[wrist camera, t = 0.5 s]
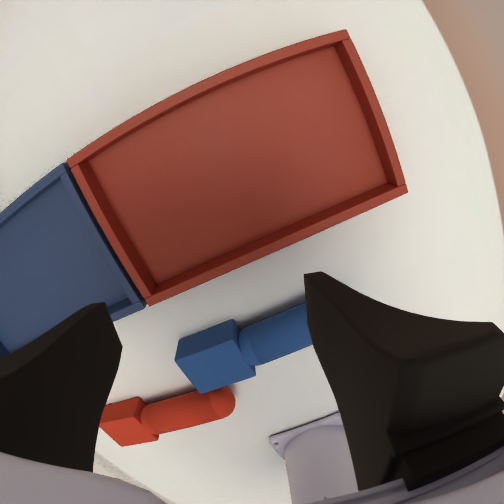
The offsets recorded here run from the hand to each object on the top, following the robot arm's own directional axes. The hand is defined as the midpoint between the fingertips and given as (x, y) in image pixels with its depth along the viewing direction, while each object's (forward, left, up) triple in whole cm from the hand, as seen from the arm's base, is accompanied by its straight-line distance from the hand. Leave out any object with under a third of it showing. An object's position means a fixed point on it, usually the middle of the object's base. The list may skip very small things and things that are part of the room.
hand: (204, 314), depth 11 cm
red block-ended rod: (-12, +11, -10) cm, 19 cm away
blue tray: (+3, +14, -10) cm, 18 cm away
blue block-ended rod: (-8, 0, -10) cm, 12 cm away
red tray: (+3, -3, -10) cm, 10 cm away
